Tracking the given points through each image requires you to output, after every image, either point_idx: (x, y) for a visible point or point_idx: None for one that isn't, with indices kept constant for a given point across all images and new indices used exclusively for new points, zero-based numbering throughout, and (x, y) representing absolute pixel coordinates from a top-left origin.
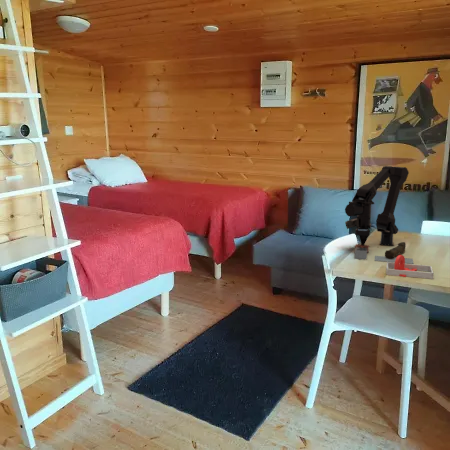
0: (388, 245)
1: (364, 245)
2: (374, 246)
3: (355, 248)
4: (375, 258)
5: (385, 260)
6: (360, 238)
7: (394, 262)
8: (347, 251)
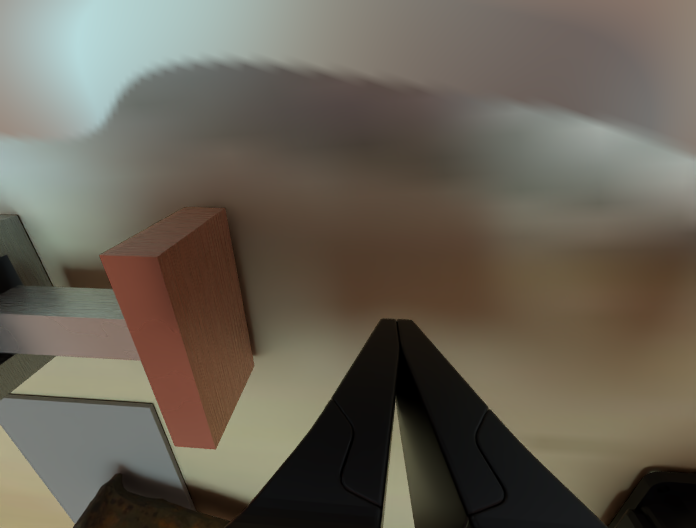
0: (610, 525)
1: (163, 398)
2: (591, 421)
3: (154, 228)
4: (52, 406)
5: (51, 461)
6: (308, 438)
7: (58, 496)
8: (184, 63)
